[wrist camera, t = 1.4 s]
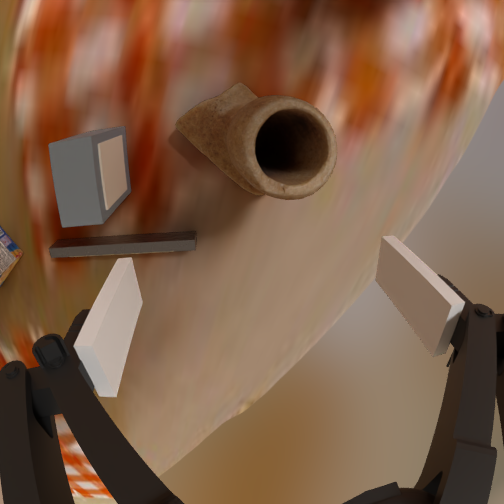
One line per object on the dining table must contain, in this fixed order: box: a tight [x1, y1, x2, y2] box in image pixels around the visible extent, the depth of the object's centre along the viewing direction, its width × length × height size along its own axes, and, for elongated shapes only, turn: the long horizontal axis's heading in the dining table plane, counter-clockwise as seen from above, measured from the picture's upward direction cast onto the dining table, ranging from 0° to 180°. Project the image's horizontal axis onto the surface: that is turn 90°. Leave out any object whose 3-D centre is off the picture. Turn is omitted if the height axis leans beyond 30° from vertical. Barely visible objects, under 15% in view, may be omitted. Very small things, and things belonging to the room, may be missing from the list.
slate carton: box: [49, 126, 131, 228], centre depth 33 cm, size 9×5×12 cm, turn 1°
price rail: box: [49, 231, 197, 258], centre depth 42 cm, size 2×22×3 cm, turn 91°
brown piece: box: [175, 83, 337, 200], centre depth 32 cm, size 15×12×15 cm
